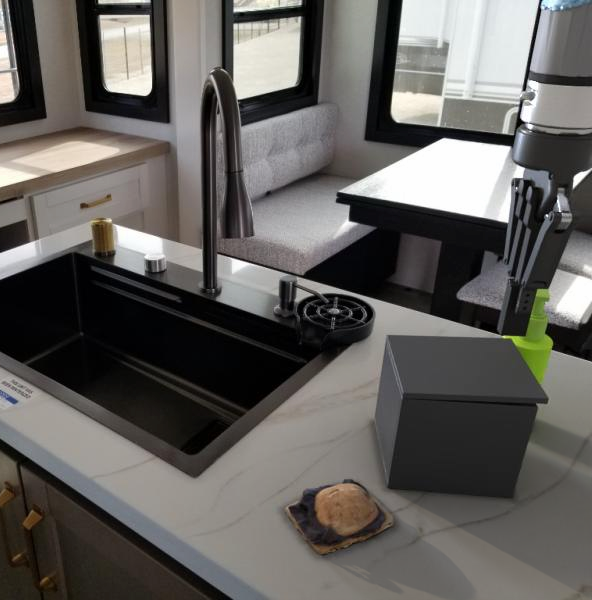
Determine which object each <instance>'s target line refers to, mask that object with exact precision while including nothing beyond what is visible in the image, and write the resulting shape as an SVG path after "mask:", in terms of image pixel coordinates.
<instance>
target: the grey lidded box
mask: <svg viewBox="0 0 592 600" xmlns="http://www.w3.org/2000/svg"><path fill="white" fill-rule="evenodd" d="M382 356H383V357H382V364H381V371H380V376H379V377H380V378H379V383H378V392H377V398H376V403H375V404H376V405H375V411H374V419H373V424H374V429H375V435H376V439H377V444H378V449H379V454H380V458H381V459H380V460H381V464H382V469H383V474H384V478H385V484H386V488H387V489H394V490H406V491H407V490H408V491H420V492H422V491H423V492H434V493H444V494H445V493H446V494H455V495H457V494H458V495H468V496H469V495H470V496H484V497H495V498H505V499H506V498H507V499H513V498H514V494H515V491H516V487H517V484H518V481H519V476H520V473H521V469H522V466H523V462H524V459H525V456H526V452H527V449H528V446H529V442H530V438H531V435H532V432H533V428H534V424H535V421H536V417H537V415H538V411H539V407H538V404H533V403H509V402H484V401H459V400H434V399H409V398H402V395H401V391H400V388H399V384H398V380H397V377H396V373H395V370H394V366H393V363H392V359H391V356H390V352H389V348H388V345H387V341H386V340H385V344H384V351H383V355H382Z"/></svg>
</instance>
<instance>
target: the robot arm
mask: <svg viewBox="0 0 592 600" xmlns="http://www.w3.org/2000/svg"><path fill="white" fill-rule="evenodd" d="M540 9H541V12H540V16H539V22H538V25H537V32H536V38H535V41H534V47H533V51H532V56H531V62H530V67H529V73H528V78H527V82H526V88H525V90H524V91H521V92H520V93H519V97H518V98H519V101H521V102H522V105H521V106H522V107H521V110H520V111H521V112H520V116H519V118H520V119H521V121H522V122H524V123H523V124H521V125H520V126H519V127H517V129H516V133H515V137H514V142H513V147H512V150H511V151H512V152H511V161H512V162H513V163H514V164H515V165H516V166H518V167H521V168H523V169H524V170H523V172H522V177H512V179H511V181H510V204H509V211H508V212H509V213H508V219H507V220H508V222H507V229H506V236H505V246H504V254H503V260H502V261H503V265H504V266H507V269H506V274H507V276H508V277H509V278H507V283H506V287H505V292H504V296H503V301H502V305H501V309H500V313H499V319H498V322H497V327H496V330H497V332H498V334H499V335H500V337H503V336H521V337H526V333H527V329H528V325H529V321H530V317H531V313H532V309H533V305H534V301H535V297H536V293H537V289H548V290H549V289H550V288H551V285H552V282H553V280H554V277H555V274H556V272H557V270H558V267H559V265H560V263H561V260H562V257H563V255H564V252H565V250H566V249H567V245H568V242H569V240H570V238H571V235H572V233H573V232H574V231H575V229H576V228H577V226H578V225H579V223H580V222H581V212H579V211H571V208H570V204H571V202H572V200H573V199H572V198H573V194H574V182H575V180H574V179H575V176H577V175H578V174H580V173H585V172H588V171H590V170H591V169H592V0H542V1H541V3H540Z"/></svg>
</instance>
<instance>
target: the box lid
mask: <svg viewBox="0 0 592 600" xmlns="http://www.w3.org/2000/svg"><path fill="white" fill-rule="evenodd" d="M385 336H386V337H385V342H386V341H387V345H388V348H389V352H390V356H391V359H392V363H393V366H394V370H395V373H396V377H397V380H398V384H399V388H400V391H401V395H402V398H409V399H434V400H459V401H484V402H509V403H533V404H537V405H548V403H549V401H550V400H549V396H548V395H547V393H546V391H545V390H544V388H543V387H542V385H540V384H539V382H538V380H537V379H536V377H535V376H534V374H533V372H532V371H531V369H530V368H529V366H528V364H527V363H526V361H525V360H524V358H523V356H522V355H521V353H520V352H519V350H518V348H517V347H516V345H515V344H514V342H513V340H512V339H511V338H503V337H484V336H483V337H482V336H481V337H480V336H445V335H443V336H442V335H408V334H406V335H405V334H386V335H385Z"/></svg>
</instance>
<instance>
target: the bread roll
mask: <svg viewBox="0 0 592 600" xmlns="http://www.w3.org/2000/svg"><path fill="white" fill-rule="evenodd" d="M284 511H285V513H286V516H287V517H288V519H289V520H290V521H291V522H292V523H293V525H294V527H295V528H296V529H297V530H299V532H300V533H301V536H302V538H303V539H304V540H305V541H307V542H308V543H309V544H310V546H311V547H312V548H313V549H314V551H315V552H316V553H317V554H319V555H327V554H328V553H332V552H336V550H340V549H341V548H348V547H349V546H351V545H352V544H353V543H356V542H360V541H366V539H369V538H372V536H374V535H378V534H379V533H381V532H383V531H384V530H386V529H387V528H390V527H393V526H394V523H395V519H394V517H393V515H392V514H391V513H390V511H388V510H387V509H386V508H385V507H384V506H383V505H382V504H381V503H380V502H379V500H377V499H376V497H375V496H373V494H371V492H370V491H368V489H367V488H366V487H365V486H364V485H362V483H361V482H359V481H358V480H356V479H353V478H344V479H343V481H342V482H341V483H339V484H335V483H333V484H326V485H320V486H319V487H314V488H305V489H304V490H303V491H302V495H301V498H300V499H299V500H297V501H295V502H293V503H291V504H289V505H287V506H286V507H285V510H284Z"/></svg>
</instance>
